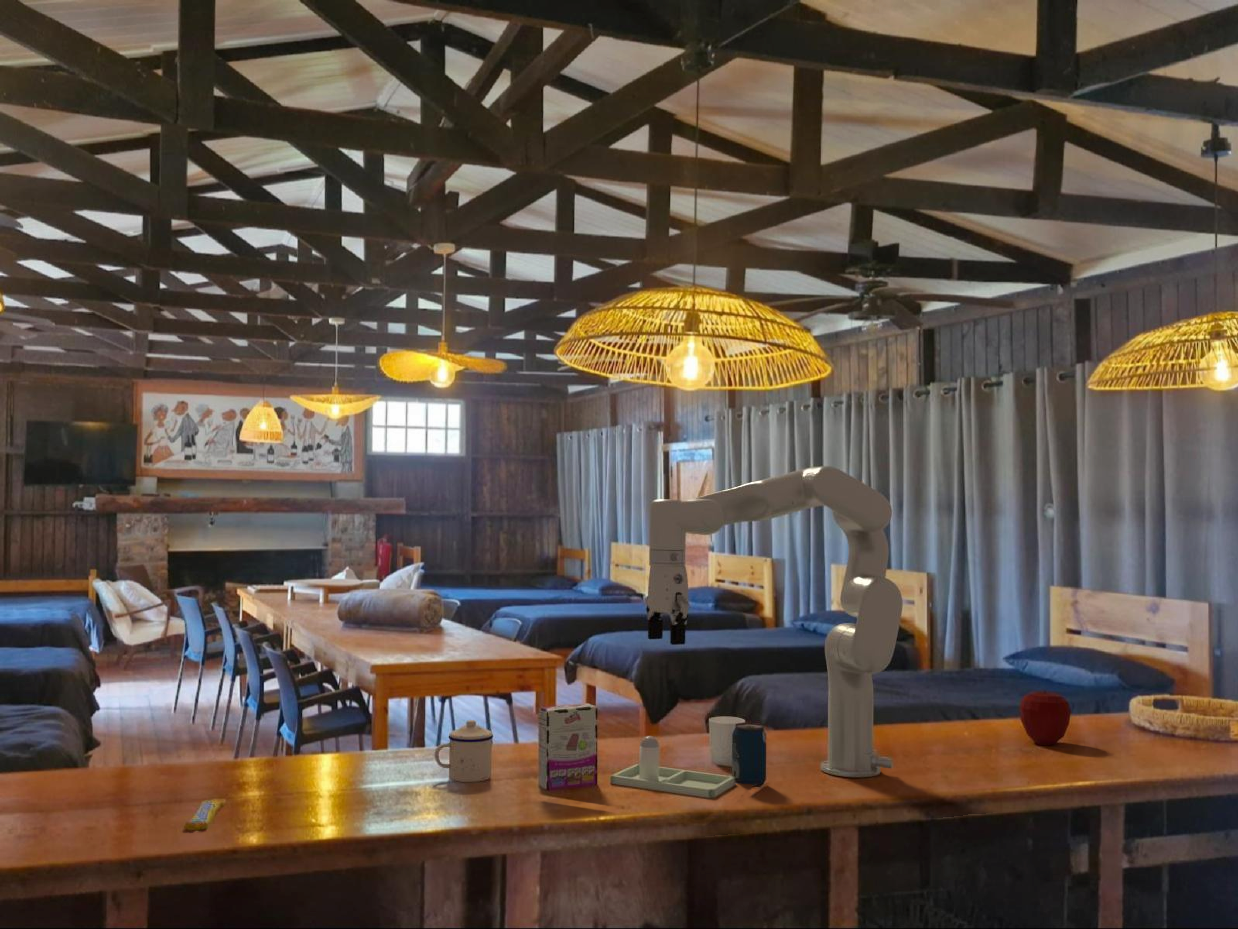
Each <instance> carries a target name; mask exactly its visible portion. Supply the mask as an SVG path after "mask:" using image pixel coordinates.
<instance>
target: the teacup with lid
mask: <svg viewBox="0 0 1238 929" xmlns="http://www.w3.org/2000/svg"><path fill="white" fill-rule="evenodd" d="M493 738H494V735H493V733H492V731H491V730H489V729H486V728H483V727H482V726H480V725H477V721H476V720H474V719H469V720H467V721H466V722H465V725H462V726H460V727H458V728H457V729H455V730H454V729H453V730H452V731H450V732H449V734H448V740H449V742H448V743H441V744H439V745H438V746H437V747H436V748H435V750H434V759H435V762H436V764H437V765H438V766H439V767H441V768H442V769H448V778H449V779H450V780H451V781H454V782H459V783H479V782H485V781H487V780H489V779H491V777H492V755H493V754H492V753H493V752H492V750H493V749H492V748H493V746H492V744H493V743H492V742H493ZM445 748H449V751H448V752H449V753H448V754H449V757H448V758H449V764H448V763H443V762H442V761H441V760H440V756H439V753H440V751H441V750H442V749H445Z"/></svg>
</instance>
